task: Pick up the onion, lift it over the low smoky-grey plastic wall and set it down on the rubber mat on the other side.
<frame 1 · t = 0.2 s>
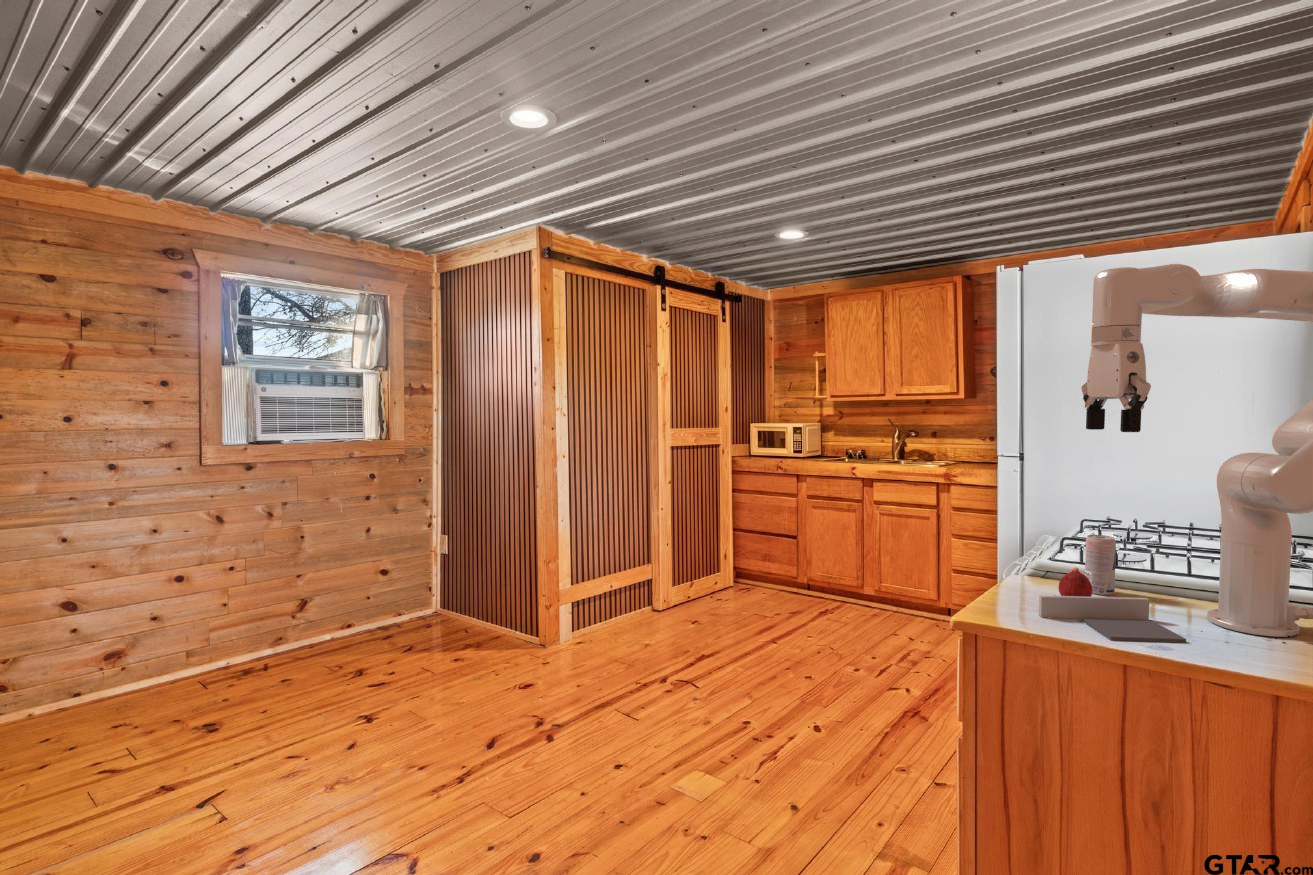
hand: (1112, 430, 124), 36 cm above the counter, tool pointing down, fingers open, 9 cm apart
rubber mat: (1131, 631, 120), on the counter
low wall: (1093, 618, 127), on the counter
onion: (1074, 607, 134), on the counter
energy drink: (1099, 593, 144), on the counter
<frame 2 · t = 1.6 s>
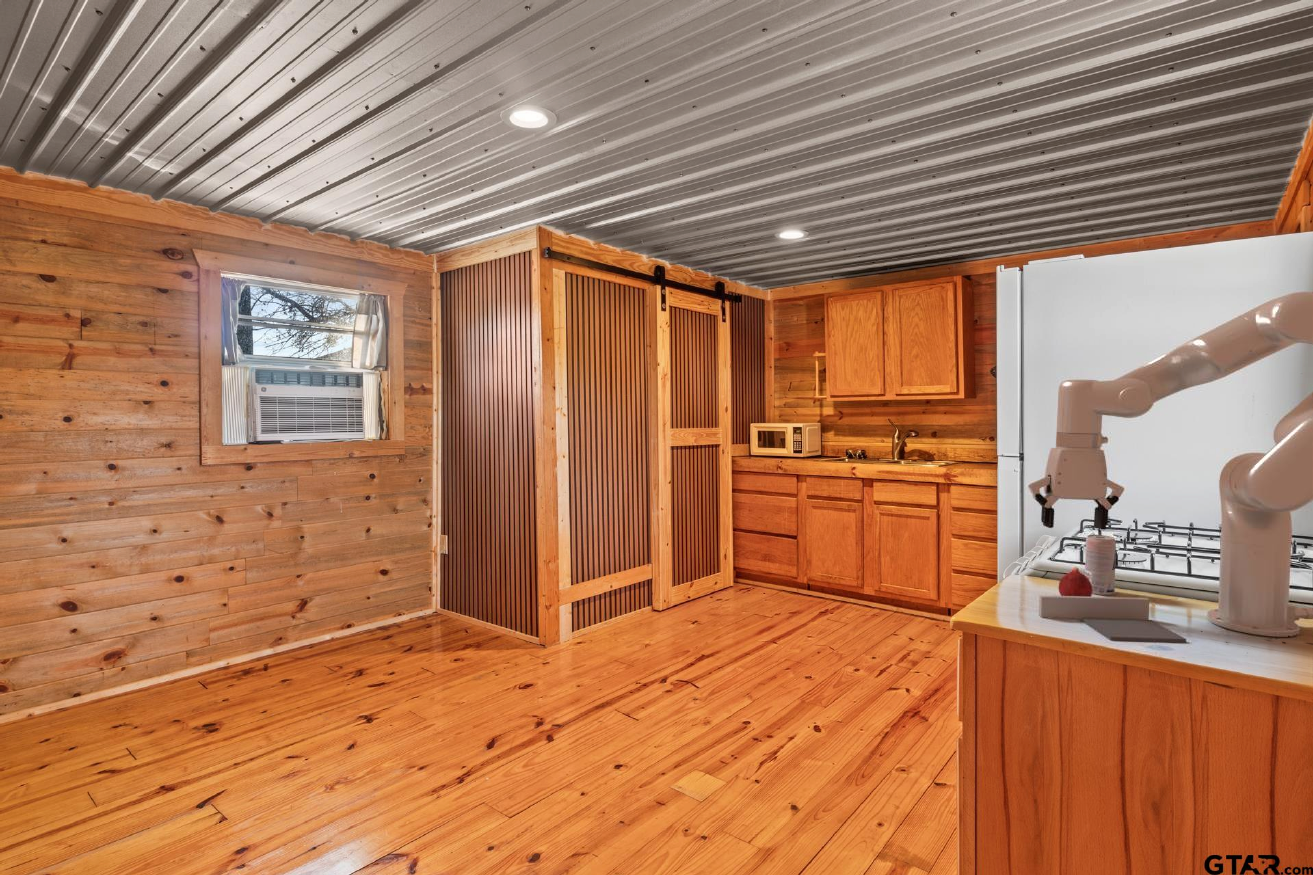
hand: (1073, 527, 134), 16 cm above the counter, tool pointing down, fingers open, 9 cm apart
nothing on the counter moved.
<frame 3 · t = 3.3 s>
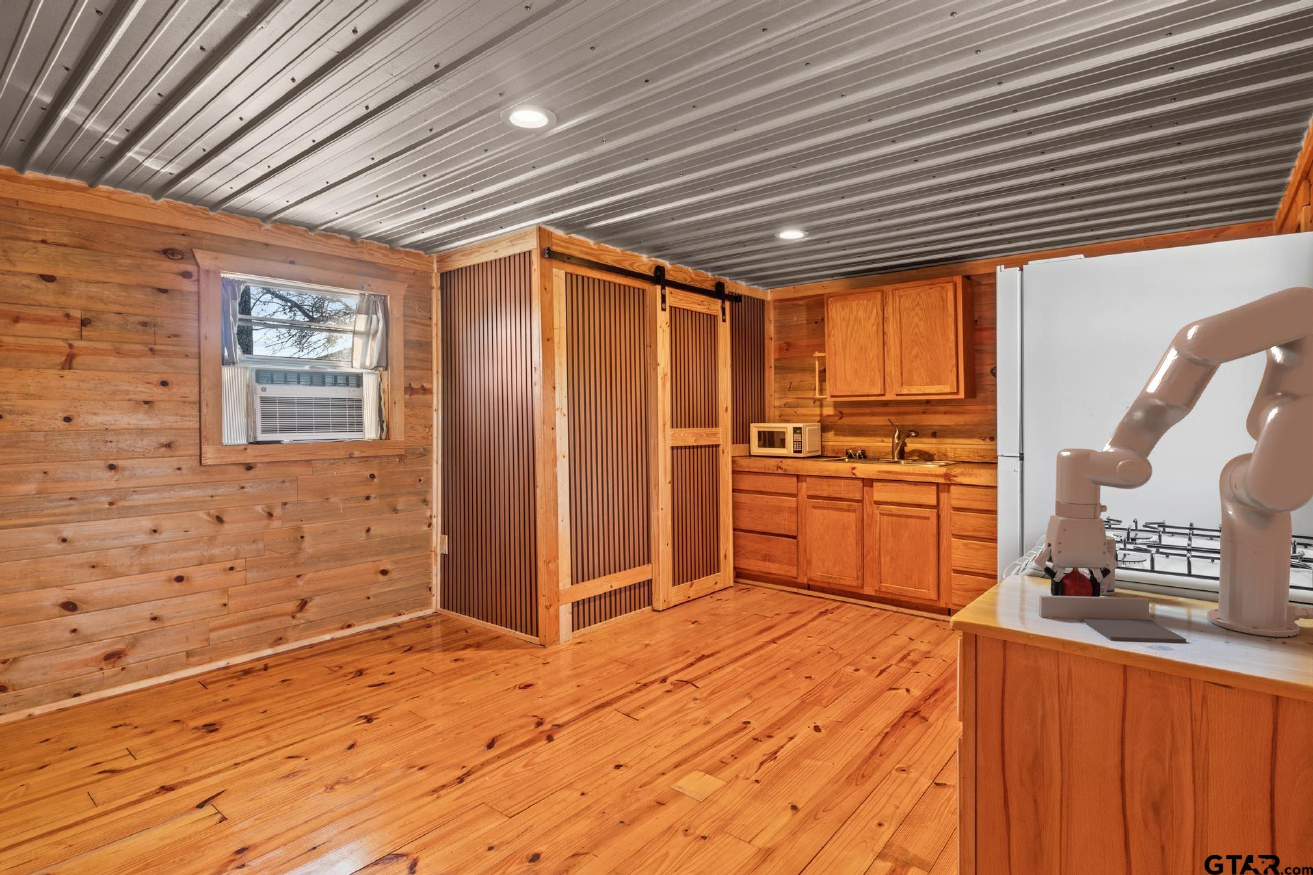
hand: (1075, 598, 134), 2 cm above the counter, tool pointing down, fingers closed on onion, 5 cm apart
onion: (1074, 607, 134), on the counter, touching gripper
everything else where it was.
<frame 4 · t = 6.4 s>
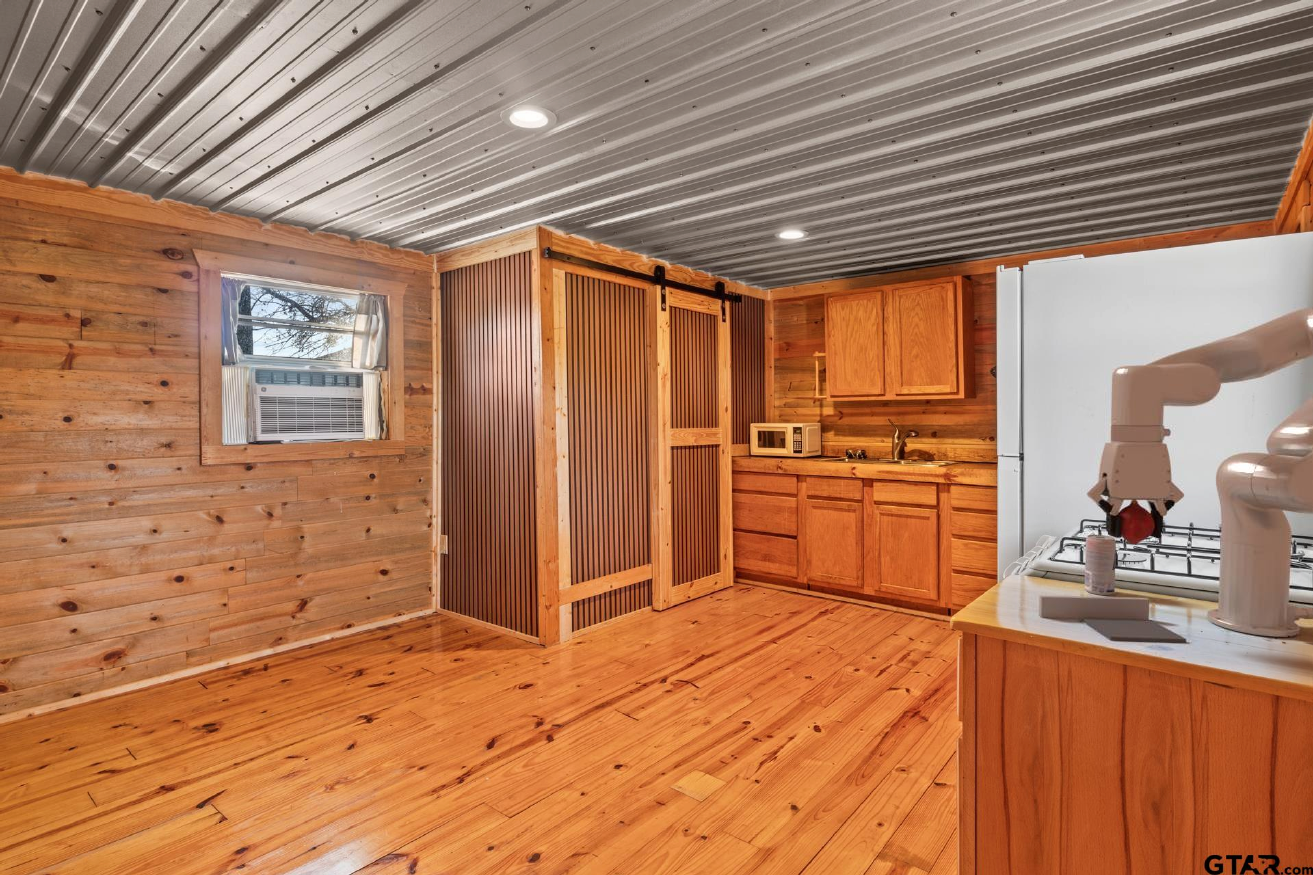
hand: (1133, 535, 119), 17 cm above the counter, tool pointing down, fingers closed on onion, 5 cm apart
onion: (1133, 545, 119), point 16 cm above the counter, touching gripper
everything else where it was.
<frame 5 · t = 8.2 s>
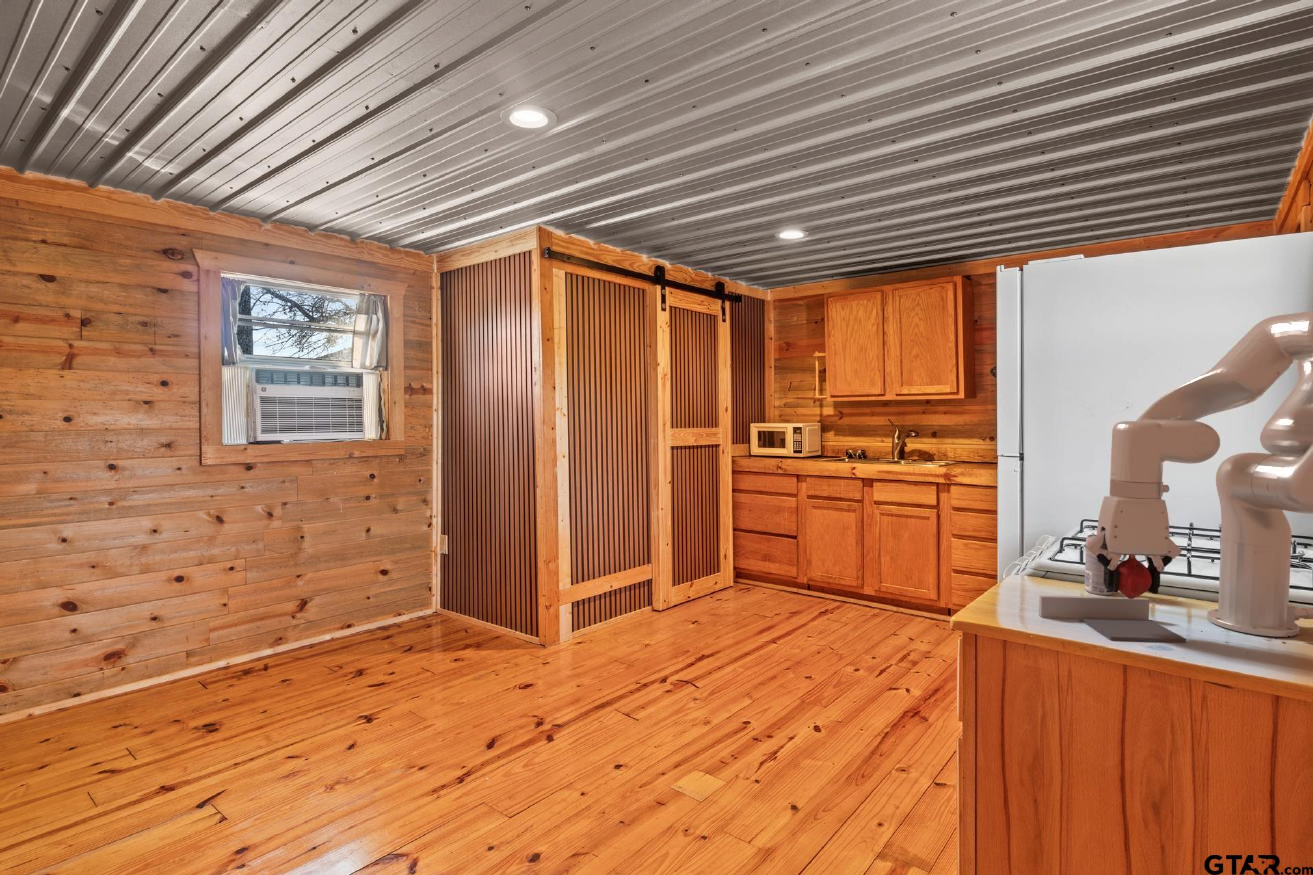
hand: (1131, 590, 120), 8 cm above the counter, tool pointing down, fingers closed on onion, 5 cm apart
onion: (1130, 599, 120), point 6 cm above the counter, touching gripper
everything else where it was.
when the fingers open (3 cm above the counter, at t = 9.5 s): onion drops 1 cm, resting on rubber mat.
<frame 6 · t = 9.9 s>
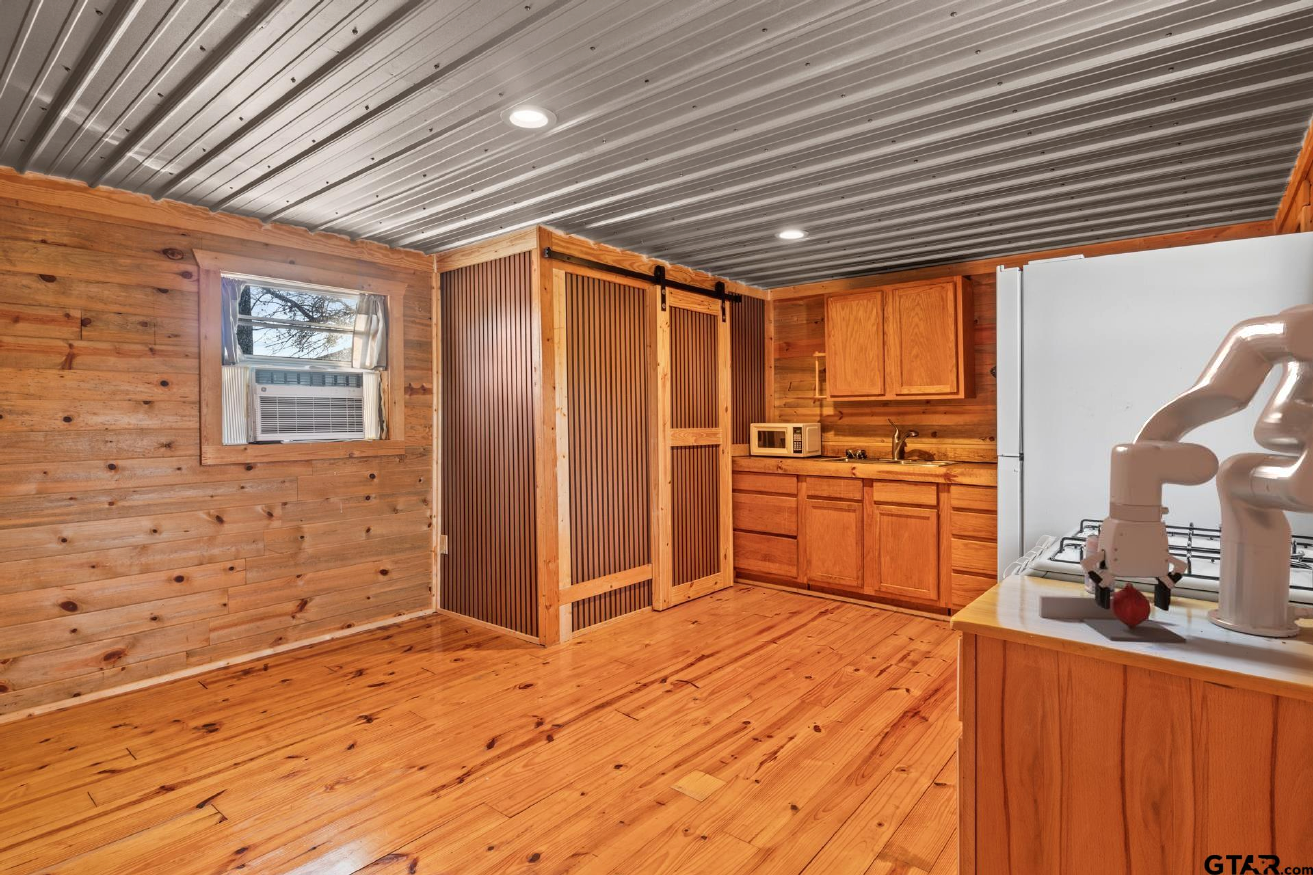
hand: (1132, 607, 120), 4 cm above the counter, tool pointing down, fingers open, 9 cm apart
onion: (1131, 628, 120), resting on rubber mat
everything else where it was.
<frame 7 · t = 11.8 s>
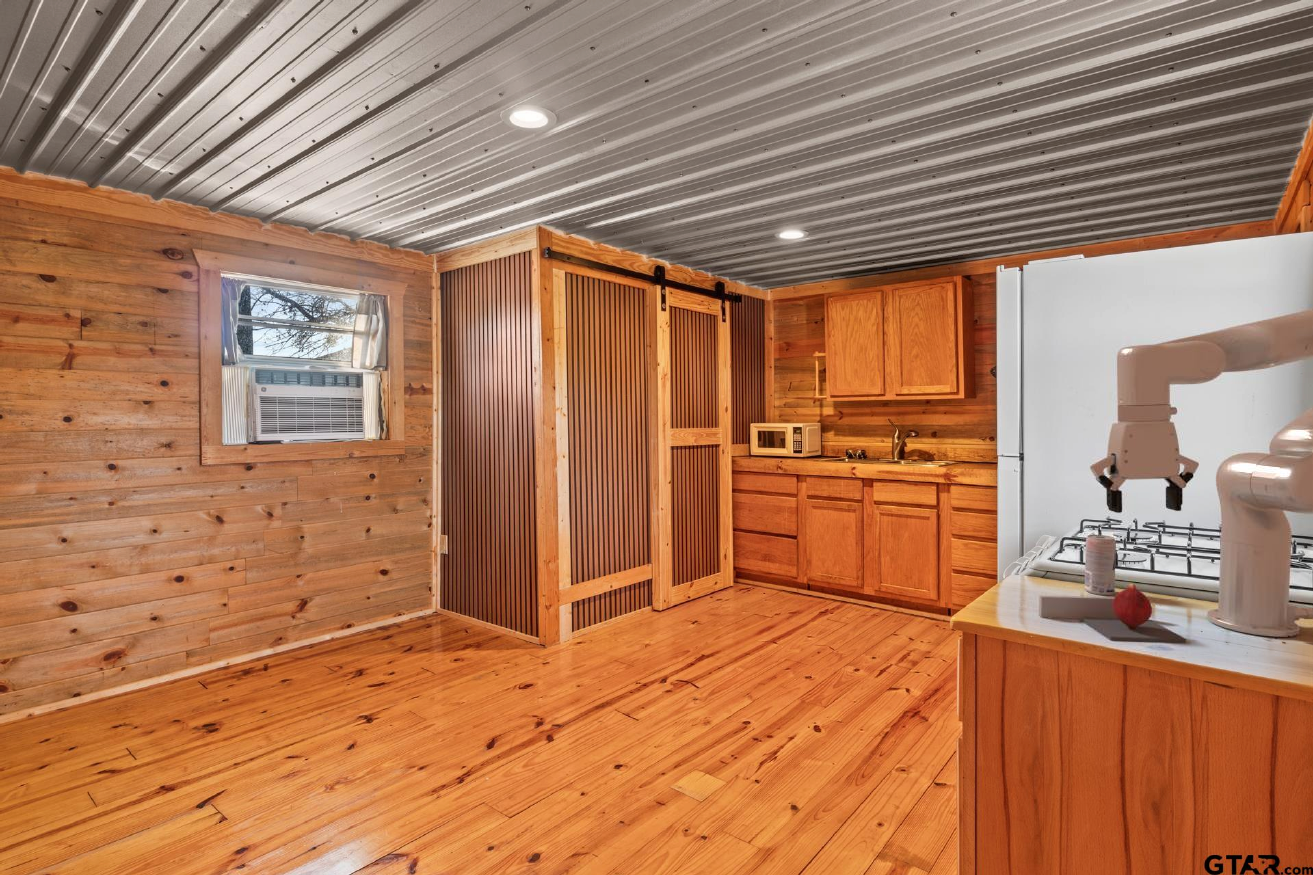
hand: (1144, 510, 120), 22 cm above the counter, tool pointing down, fingers open, 9 cm apart
nothing on the counter moved.
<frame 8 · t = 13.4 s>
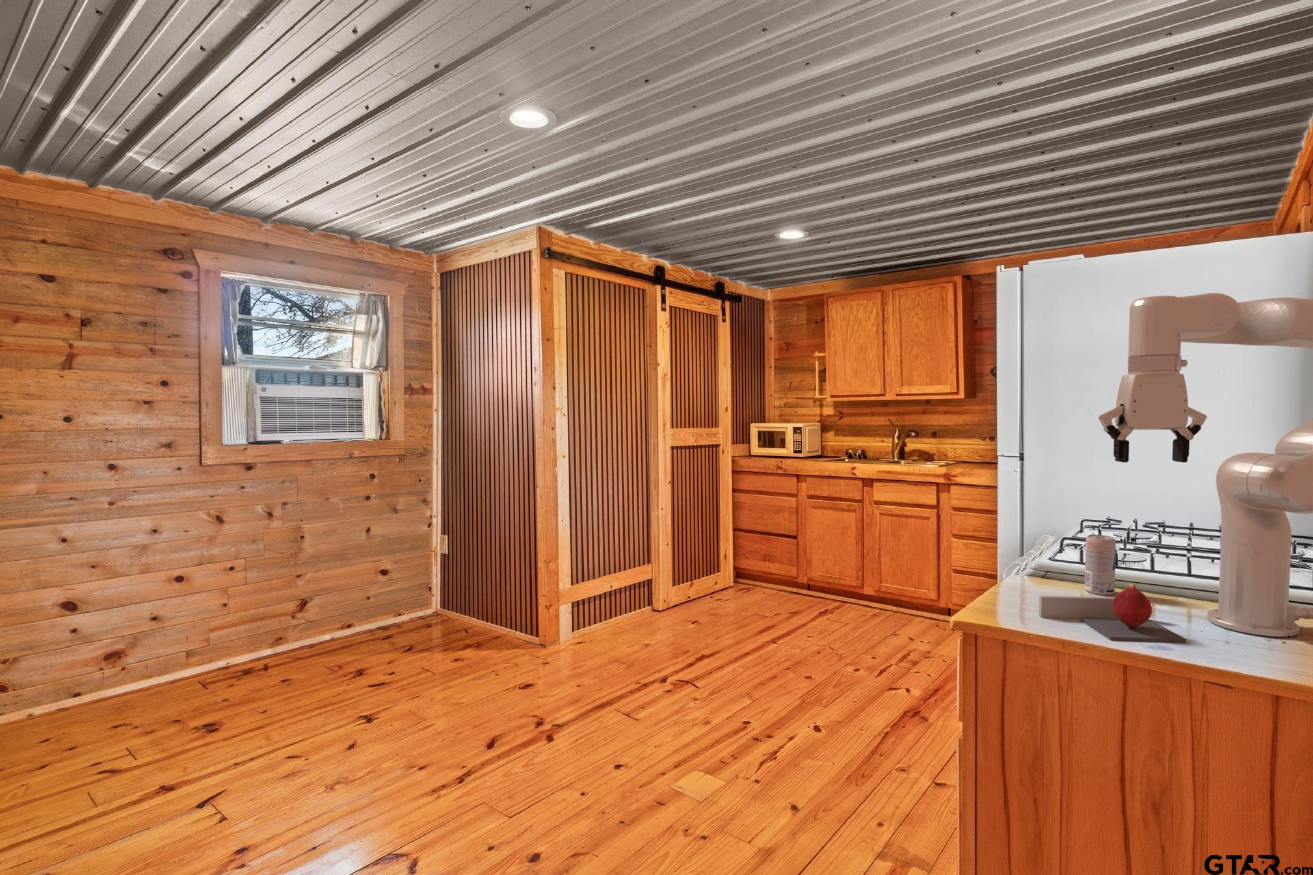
hand: (1150, 461, 121), 30 cm above the counter, tool pointing down, fingers open, 9 cm apart
nothing on the counter moved.
at the end: onion inside the target area on the rubber mat (0.0 cm from its centre), point 0.4 cm above the rubber mat's base; onion touching rubber mat; the gripper is holding nothing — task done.
